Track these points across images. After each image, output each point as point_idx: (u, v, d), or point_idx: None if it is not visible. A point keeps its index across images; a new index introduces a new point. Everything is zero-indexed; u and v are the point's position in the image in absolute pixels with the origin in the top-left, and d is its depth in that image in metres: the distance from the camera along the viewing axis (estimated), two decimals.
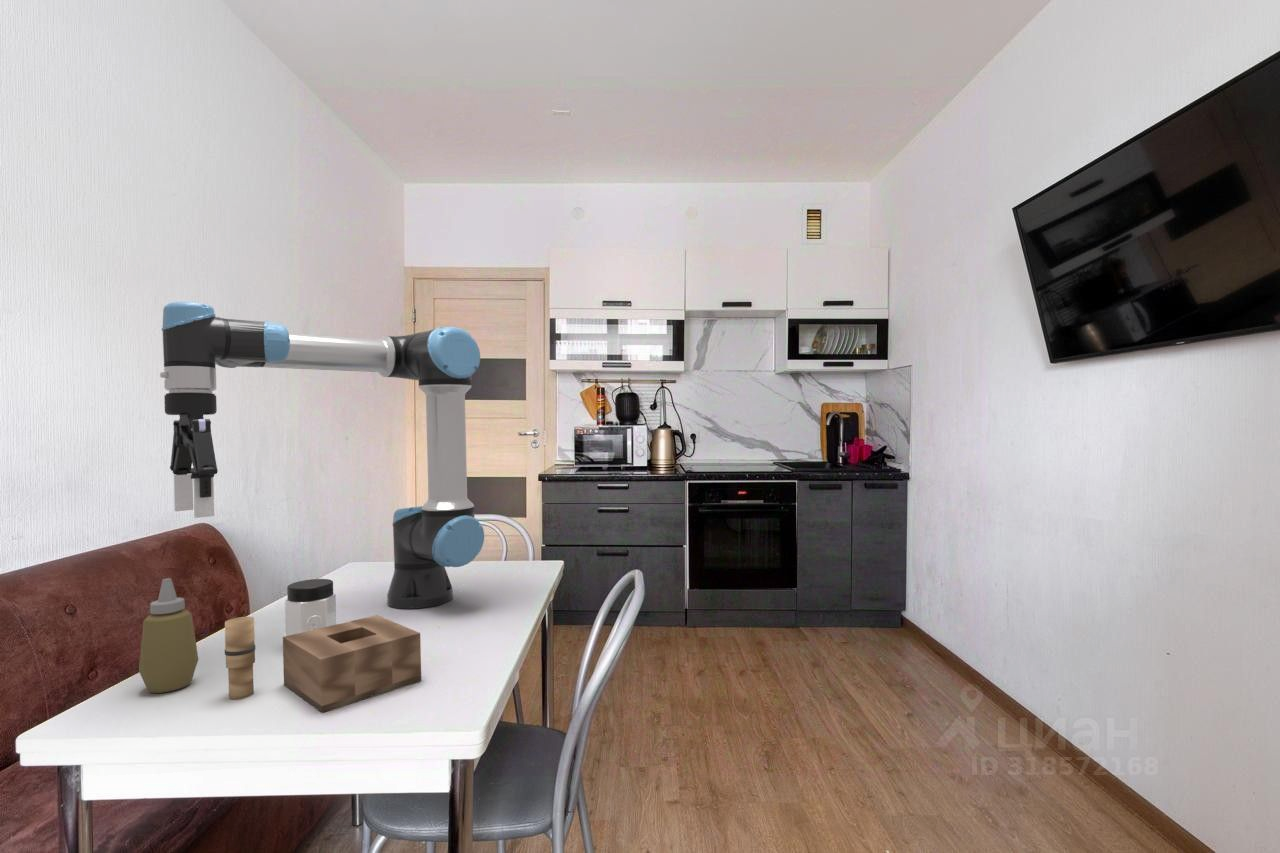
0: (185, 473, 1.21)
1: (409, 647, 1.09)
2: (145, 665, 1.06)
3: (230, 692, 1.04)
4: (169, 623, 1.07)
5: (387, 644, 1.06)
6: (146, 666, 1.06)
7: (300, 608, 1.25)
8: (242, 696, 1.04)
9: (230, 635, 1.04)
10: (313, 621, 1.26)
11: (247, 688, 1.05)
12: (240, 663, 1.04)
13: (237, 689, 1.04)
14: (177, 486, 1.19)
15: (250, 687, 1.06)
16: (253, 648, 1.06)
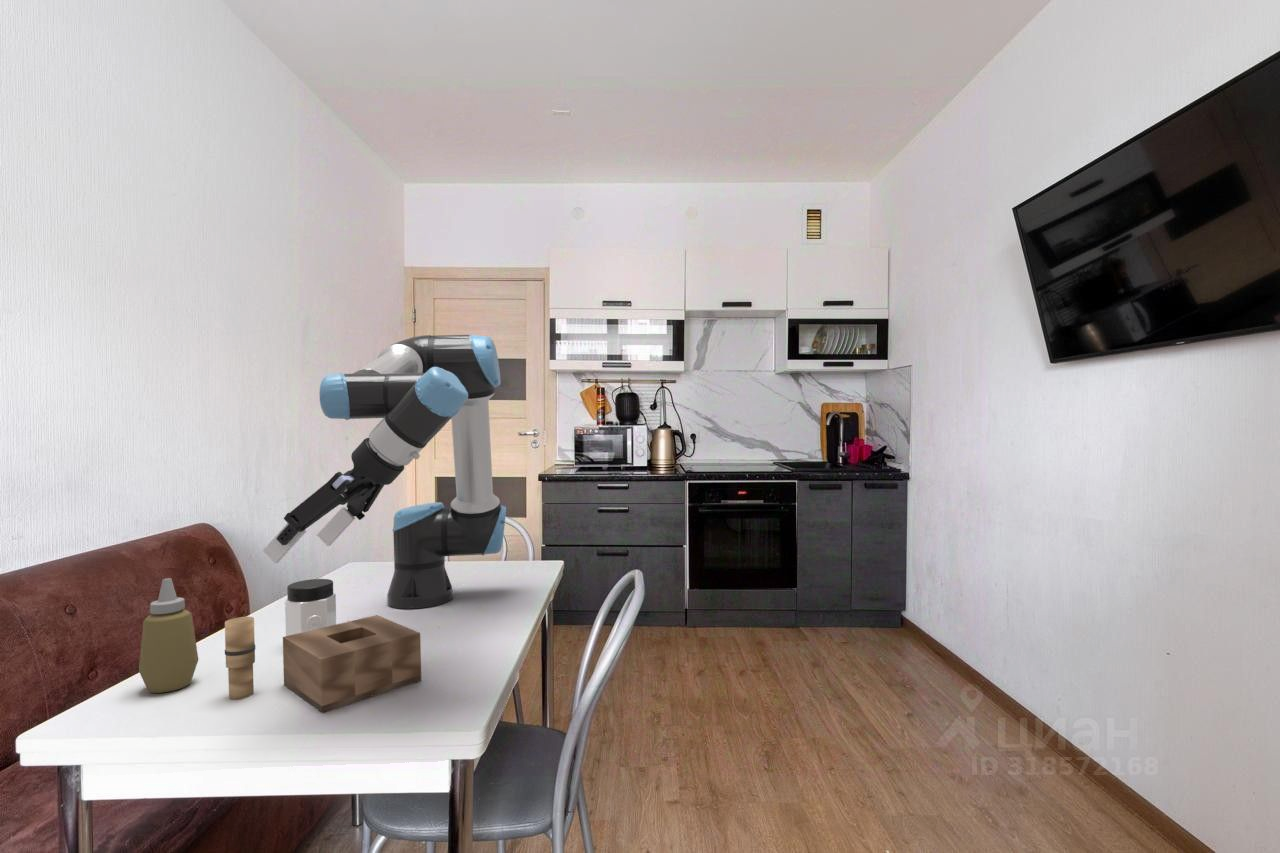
0: None
1: (409, 647, 1.09)
2: (145, 665, 1.06)
3: (230, 692, 1.04)
4: (169, 623, 1.07)
5: (387, 644, 1.06)
6: (146, 666, 1.06)
7: (300, 608, 1.25)
8: (242, 696, 1.04)
9: (230, 635, 1.04)
10: (313, 621, 1.26)
11: (247, 688, 1.05)
12: (240, 663, 1.04)
13: (237, 689, 1.04)
14: None
15: (250, 687, 1.06)
16: (253, 648, 1.06)
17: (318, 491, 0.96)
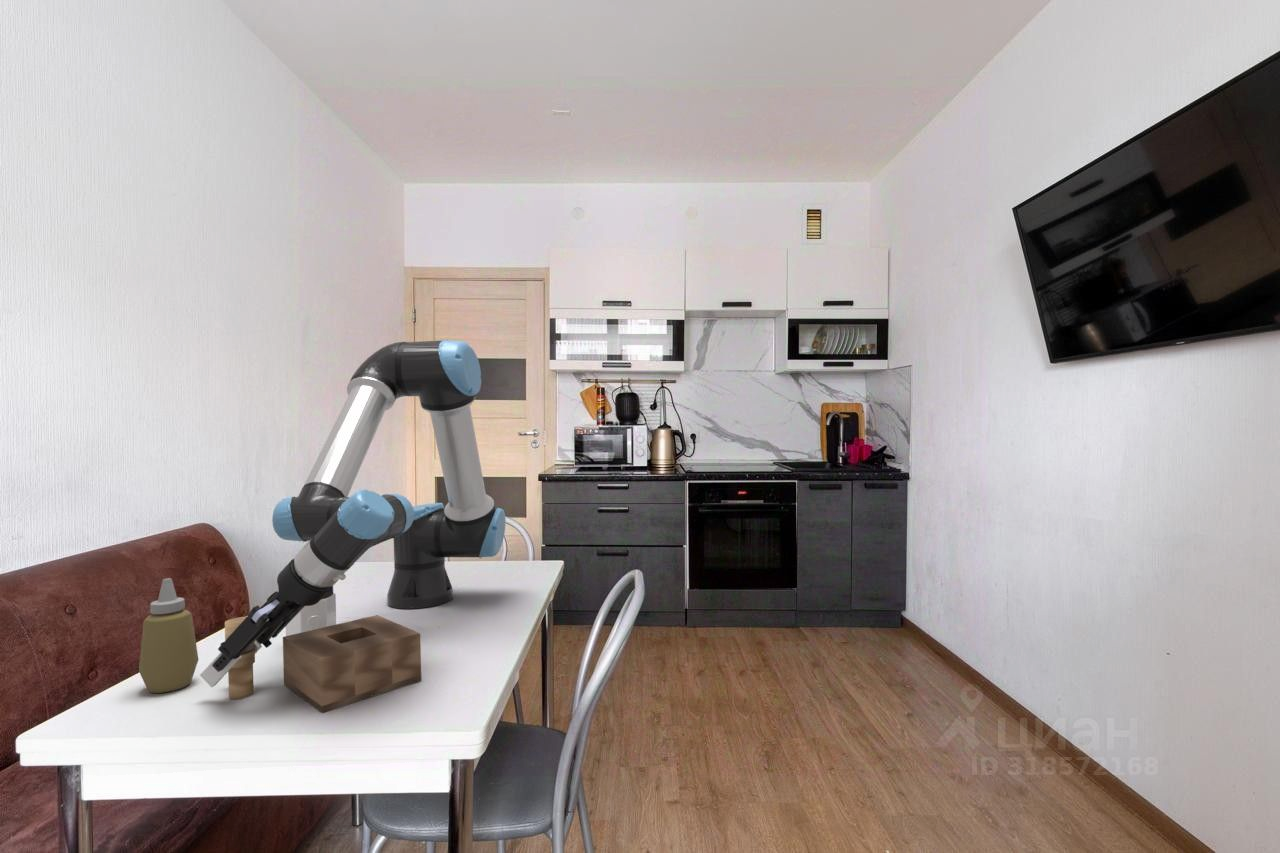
0: None
1: (409, 647, 1.09)
2: (145, 665, 1.06)
3: (230, 692, 1.04)
4: (169, 623, 1.07)
5: (387, 644, 1.06)
6: (146, 666, 1.06)
7: None
8: (242, 696, 1.04)
9: None
10: (313, 621, 1.26)
11: (247, 688, 1.05)
12: (240, 663, 1.04)
13: (237, 689, 1.04)
14: None
15: (250, 687, 1.06)
16: (253, 648, 1.06)
17: (241, 625, 0.99)
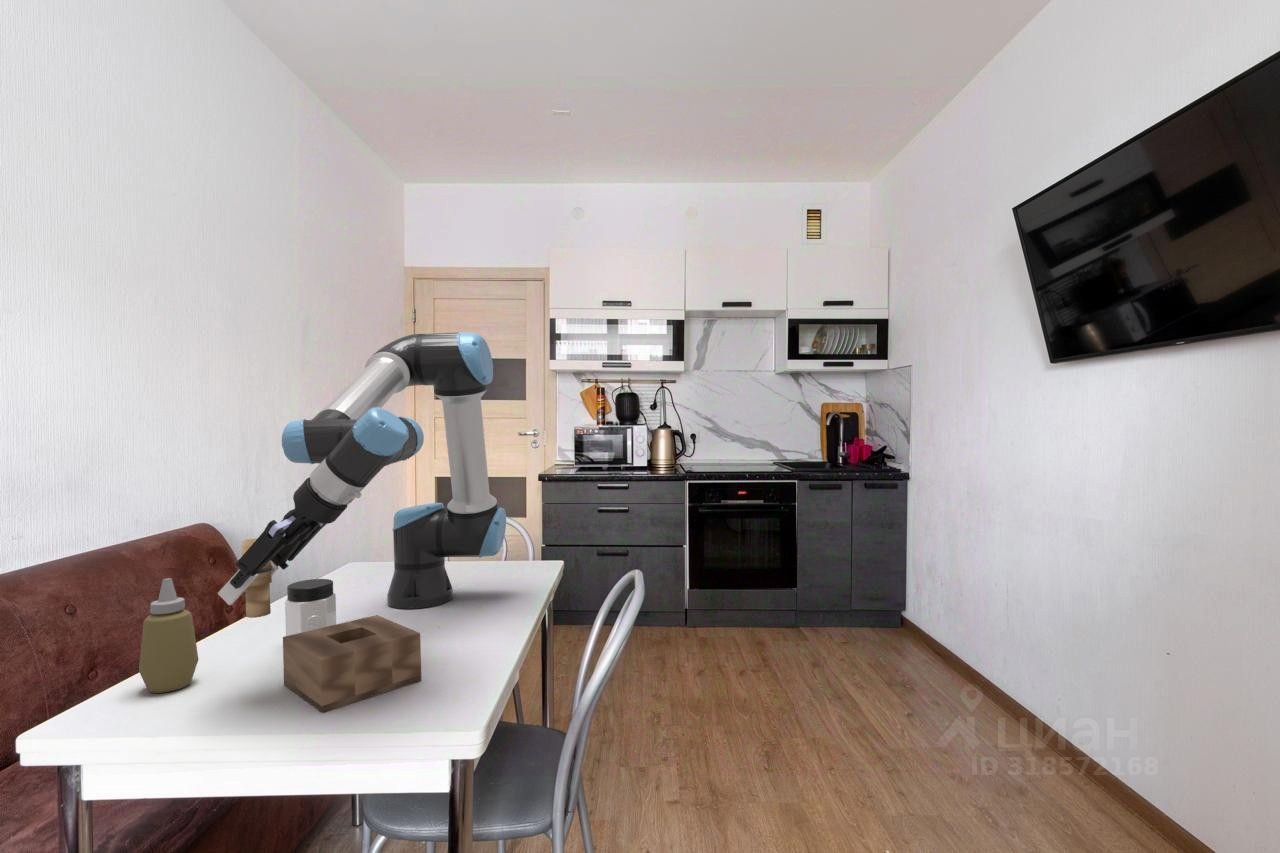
0: None
1: (409, 647, 1.09)
2: (145, 665, 1.06)
3: (247, 611, 1.05)
4: (169, 623, 1.07)
5: (387, 644, 1.06)
6: (147, 666, 1.06)
7: (300, 608, 1.25)
8: (259, 615, 1.05)
9: None
10: (313, 621, 1.26)
11: (264, 607, 1.05)
12: (257, 581, 1.04)
13: (255, 607, 1.05)
14: None
15: (267, 606, 1.06)
16: (270, 568, 1.06)
17: (258, 539, 1.00)
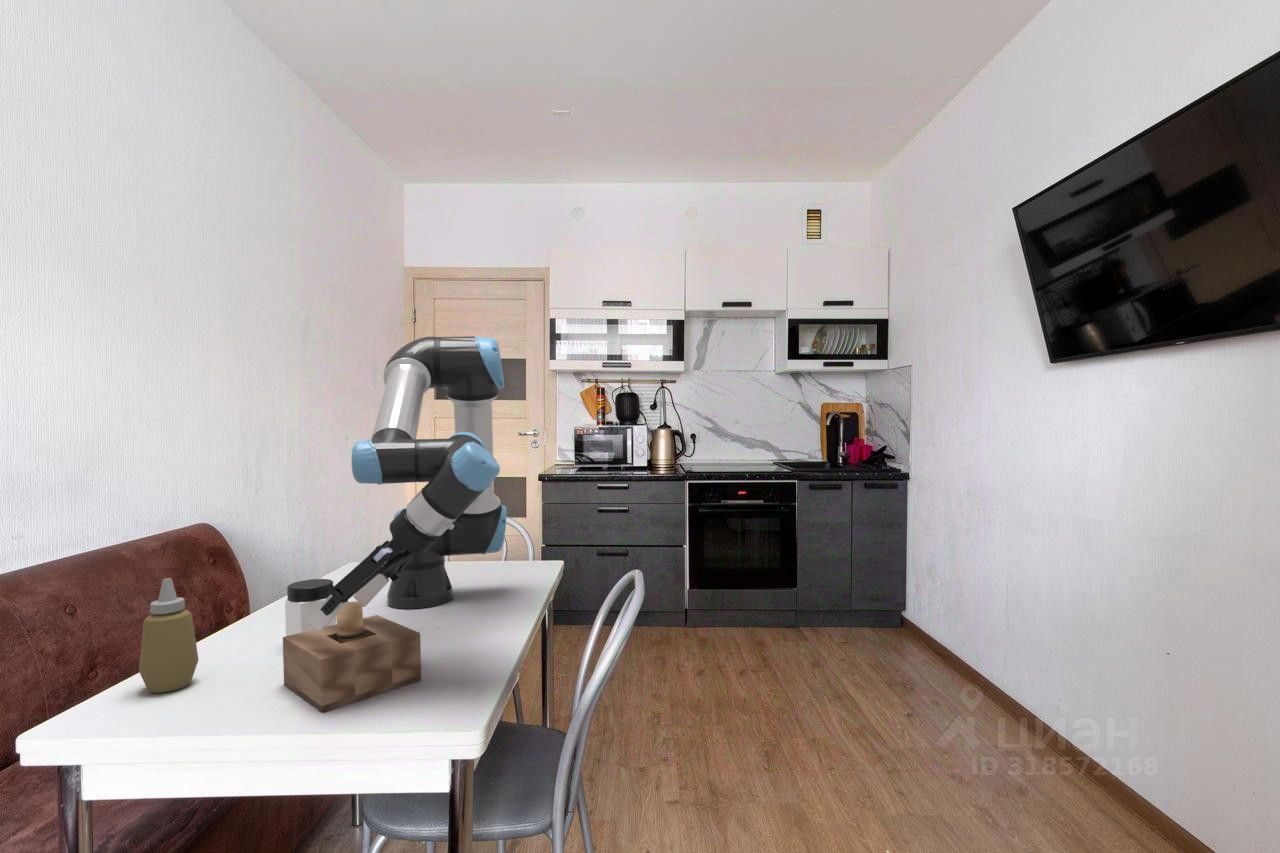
0: None
1: (409, 647, 1.09)
2: (145, 665, 1.06)
3: None
4: (169, 623, 1.07)
5: (387, 644, 1.06)
6: (146, 666, 1.06)
7: (300, 608, 1.25)
8: None
9: (342, 619, 1.08)
10: None
11: None
12: None
13: None
14: None
15: None
16: (363, 631, 1.10)
17: (360, 564, 1.01)
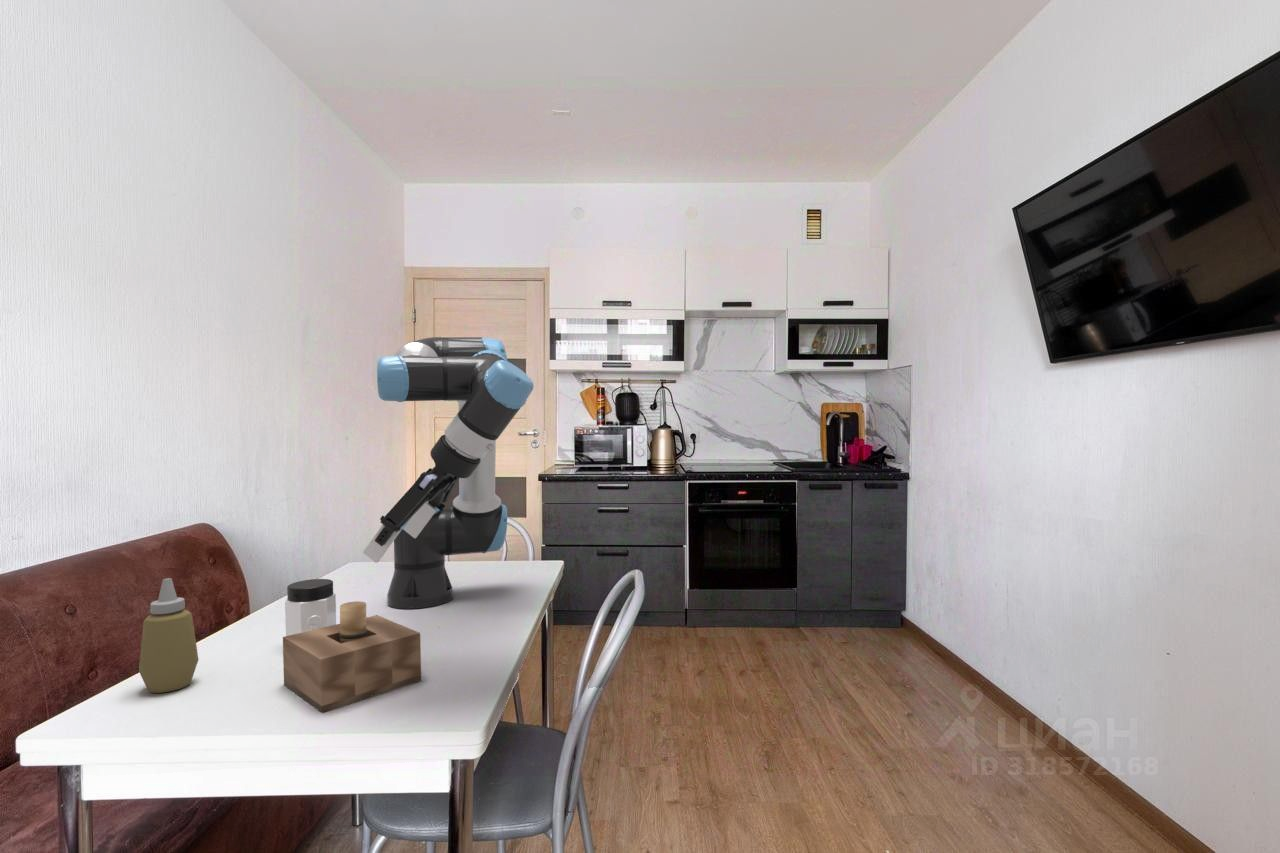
0: None
1: (409, 647, 1.09)
2: (145, 665, 1.06)
3: None
4: (169, 623, 1.07)
5: (387, 644, 1.06)
6: (147, 666, 1.06)
7: (300, 608, 1.25)
8: None
9: (346, 618, 1.08)
10: (313, 621, 1.26)
11: None
12: None
13: None
14: None
15: None
16: (365, 632, 1.10)
17: (407, 493, 1.01)
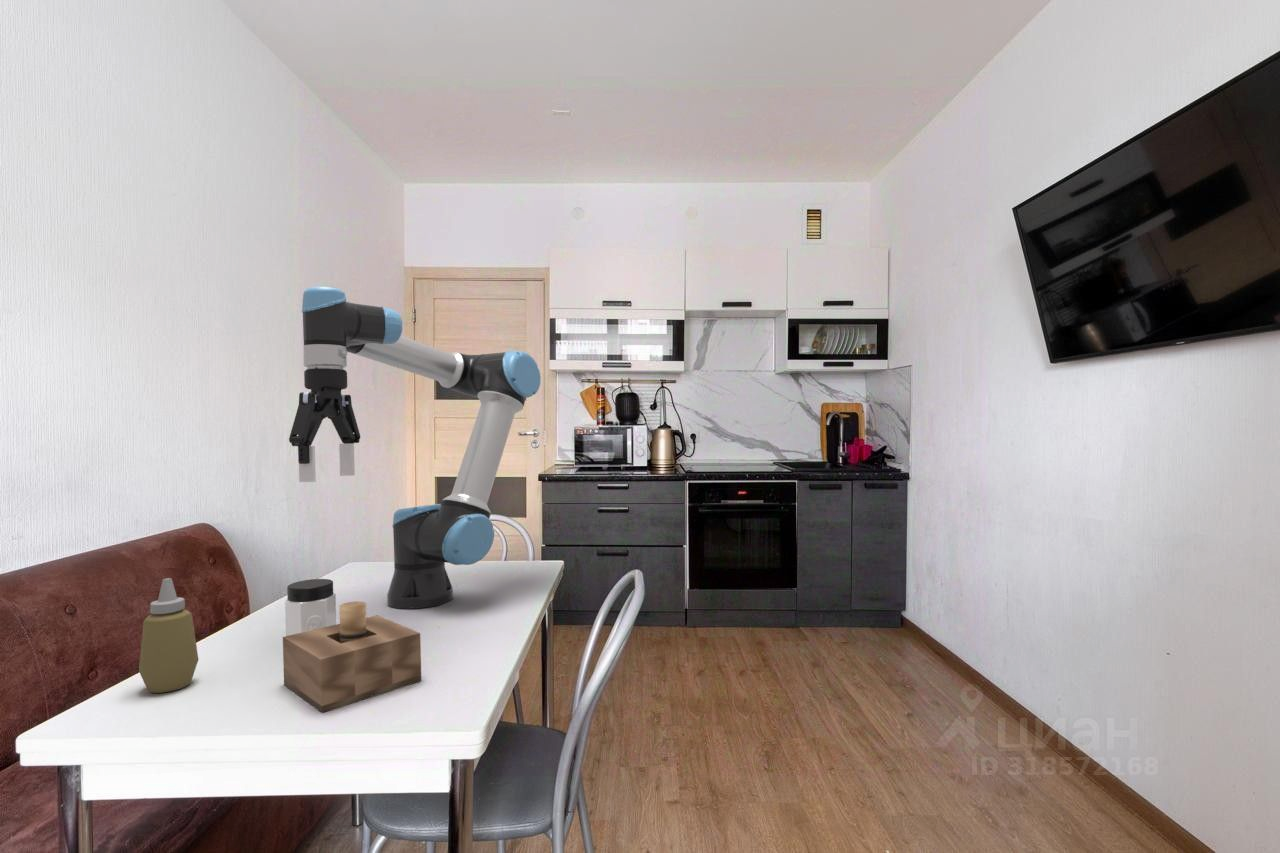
0: None
1: (409, 647, 1.09)
2: (145, 665, 1.06)
3: None
4: (169, 623, 1.07)
5: (387, 644, 1.06)
6: (147, 666, 1.06)
7: (300, 608, 1.25)
8: None
9: (346, 618, 1.08)
10: (313, 621, 1.26)
11: None
12: None
13: None
14: None
15: None
16: (365, 631, 1.10)
17: (297, 412, 1.20)
